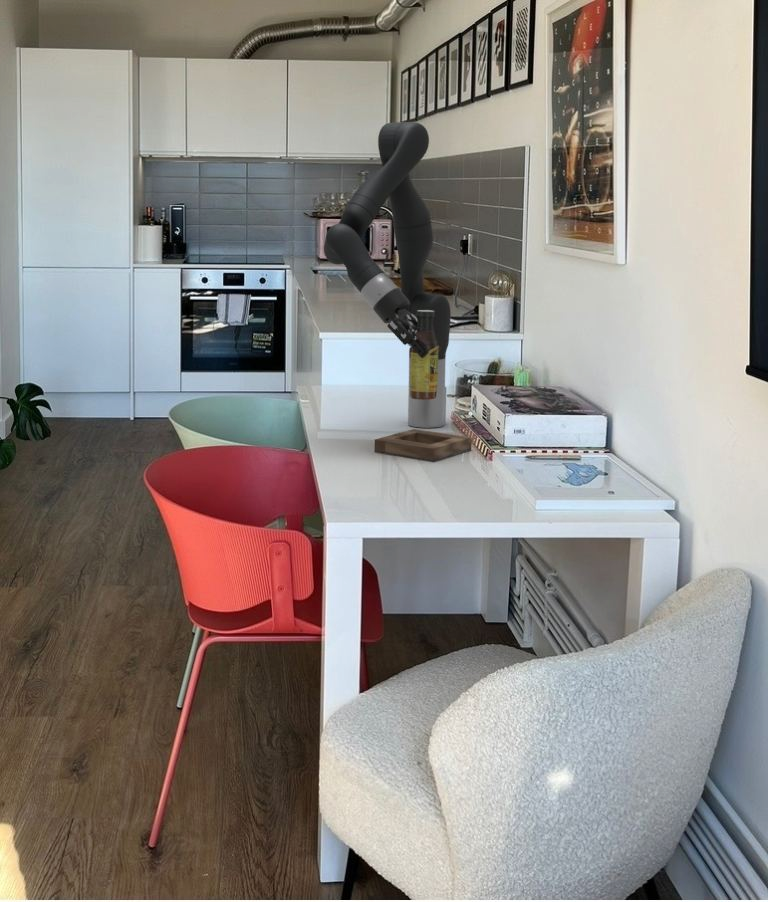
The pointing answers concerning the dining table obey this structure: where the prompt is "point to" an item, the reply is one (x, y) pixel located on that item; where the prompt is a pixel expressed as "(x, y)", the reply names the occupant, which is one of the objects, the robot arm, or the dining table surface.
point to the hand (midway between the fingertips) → (431, 353)
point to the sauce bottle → (424, 359)
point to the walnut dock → (423, 445)
